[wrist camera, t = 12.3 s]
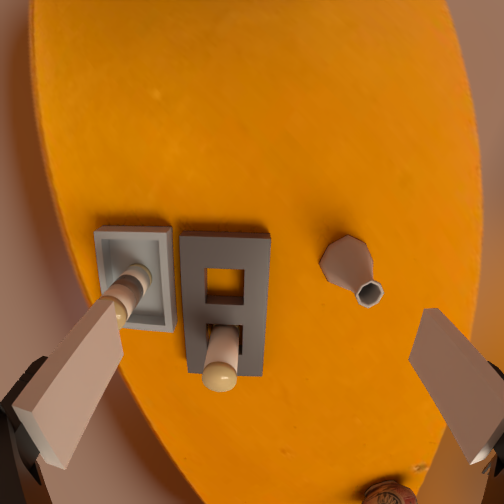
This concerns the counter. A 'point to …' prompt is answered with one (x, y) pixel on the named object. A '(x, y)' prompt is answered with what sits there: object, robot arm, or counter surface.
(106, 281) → the parts tray
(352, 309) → the counter surface
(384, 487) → the ceramic jug
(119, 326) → the cylinder
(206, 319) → the block
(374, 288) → the flask
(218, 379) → the cylinder
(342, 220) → the counter surface
